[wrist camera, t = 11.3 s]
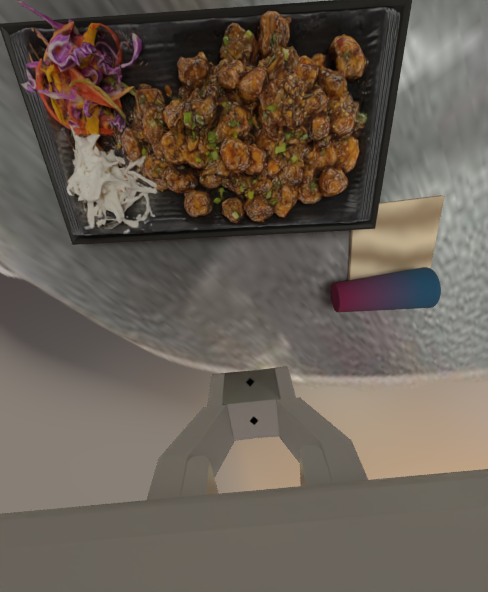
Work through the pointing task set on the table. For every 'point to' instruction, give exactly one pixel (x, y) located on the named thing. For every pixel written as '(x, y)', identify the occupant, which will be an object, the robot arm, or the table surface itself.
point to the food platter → (214, 117)
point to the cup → (388, 291)
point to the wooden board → (396, 238)
